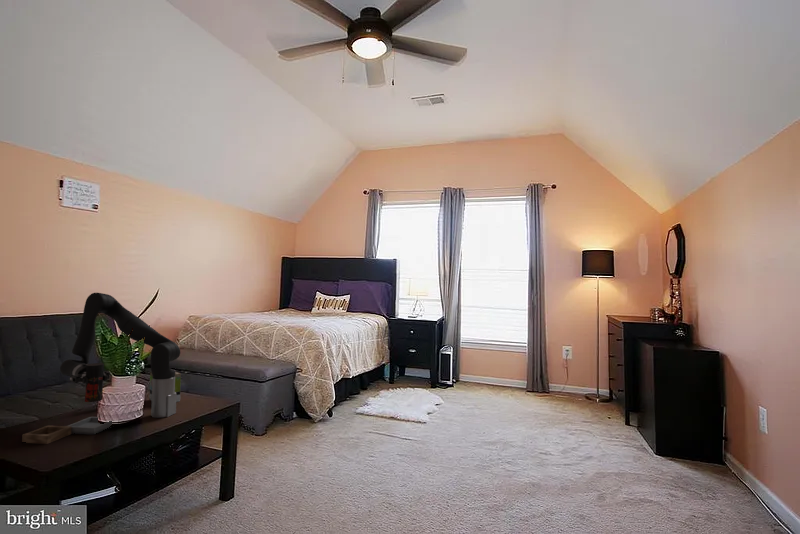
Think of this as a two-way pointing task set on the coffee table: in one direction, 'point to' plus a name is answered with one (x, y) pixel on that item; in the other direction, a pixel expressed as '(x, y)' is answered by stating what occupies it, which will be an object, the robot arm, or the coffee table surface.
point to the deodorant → (94, 382)
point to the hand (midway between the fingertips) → (96, 379)
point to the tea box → (177, 385)
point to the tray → (89, 426)
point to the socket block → (46, 434)
